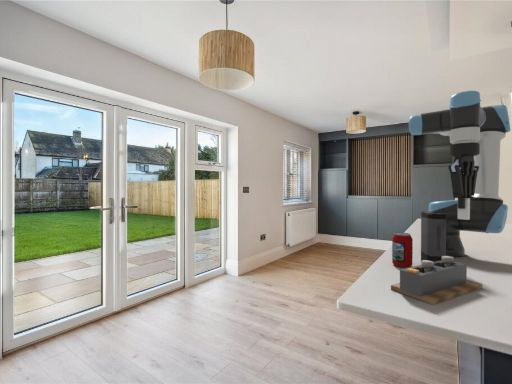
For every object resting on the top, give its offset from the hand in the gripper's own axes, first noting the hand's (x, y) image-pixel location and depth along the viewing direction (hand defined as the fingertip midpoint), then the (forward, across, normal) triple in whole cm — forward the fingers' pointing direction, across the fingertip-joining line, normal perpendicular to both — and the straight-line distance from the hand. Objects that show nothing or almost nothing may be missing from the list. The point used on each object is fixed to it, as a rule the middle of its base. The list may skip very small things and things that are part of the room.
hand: (463, 219), depth 88 cm
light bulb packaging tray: (+18, +16, 0) cm, 24 cm away
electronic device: (+20, -8, -14) cm, 25 cm away
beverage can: (+20, +1, -20) cm, 28 cm away
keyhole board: (+19, +14, 0) cm, 24 cm away
